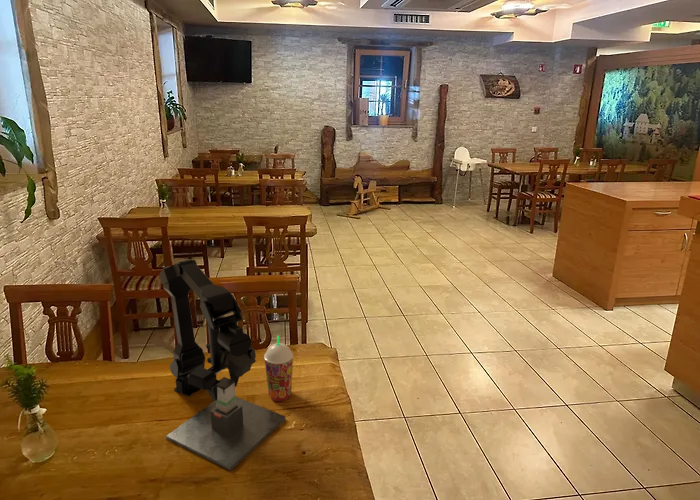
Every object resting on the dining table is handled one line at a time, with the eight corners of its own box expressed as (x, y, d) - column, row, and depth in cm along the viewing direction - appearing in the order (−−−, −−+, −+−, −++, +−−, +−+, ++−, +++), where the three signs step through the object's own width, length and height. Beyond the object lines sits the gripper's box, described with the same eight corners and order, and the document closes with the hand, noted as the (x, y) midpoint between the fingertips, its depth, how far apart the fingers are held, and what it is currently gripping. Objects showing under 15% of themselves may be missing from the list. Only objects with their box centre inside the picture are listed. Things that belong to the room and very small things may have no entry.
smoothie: (260, 400, 141) (257, 339, 135) (275, 385, 148) (272, 327, 142) (285, 407, 138) (283, 345, 132) (299, 391, 145) (297, 332, 139)
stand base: (226, 395, 143) (224, 376, 141) (285, 419, 133) (285, 399, 131) (166, 439, 125) (163, 418, 123) (230, 470, 114) (228, 448, 112)
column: (226, 406, 129) (224, 376, 127) (236, 410, 128) (234, 380, 125) (216, 413, 126) (213, 383, 123) (227, 418, 125) (224, 387, 122)
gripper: (218, 365, 109) (222, 423, 114) (269, 332, 124) (271, 384, 129) (183, 352, 114) (189, 408, 119) (237, 322, 129) (240, 372, 134)
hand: (225, 393), depth 125 cm, fingers open, 7 cm apart
